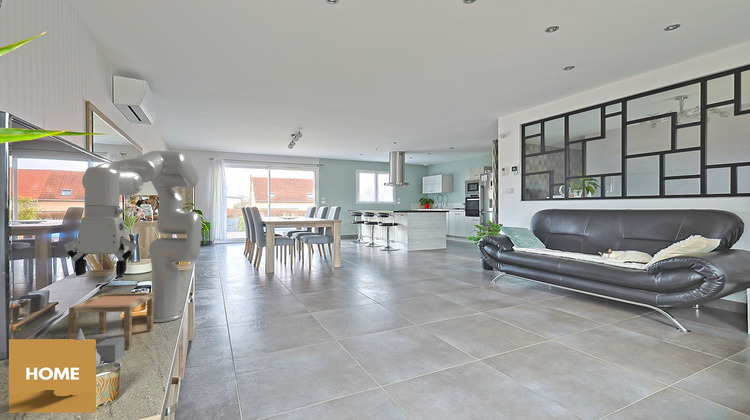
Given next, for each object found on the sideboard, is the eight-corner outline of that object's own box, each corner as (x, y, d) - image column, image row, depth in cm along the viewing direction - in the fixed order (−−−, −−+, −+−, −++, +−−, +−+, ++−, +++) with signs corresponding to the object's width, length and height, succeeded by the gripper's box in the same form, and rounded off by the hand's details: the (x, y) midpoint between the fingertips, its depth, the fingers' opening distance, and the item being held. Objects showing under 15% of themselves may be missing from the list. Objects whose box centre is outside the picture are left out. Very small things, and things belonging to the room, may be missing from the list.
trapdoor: (104, 298, 118) (104, 295, 118) (145, 297, 121) (145, 295, 121) (82, 308, 107) (82, 305, 107) (127, 307, 109) (127, 304, 109)
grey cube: (105, 355, 103) (105, 338, 103) (124, 354, 104) (124, 338, 104) (95, 363, 98) (95, 345, 98) (114, 362, 99) (115, 345, 99)
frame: (101, 331, 120) (101, 293, 120) (153, 329, 123) (153, 292, 123) (68, 352, 104) (68, 308, 104) (129, 349, 107) (129, 306, 107)
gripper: (143, 213, 100) (142, 271, 100) (75, 211, 96) (74, 272, 97) (130, 213, 92) (128, 277, 92) (55, 212, 89) (54, 277, 89)
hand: (100, 274), depth 94 cm, fingers open, 9 cm apart
